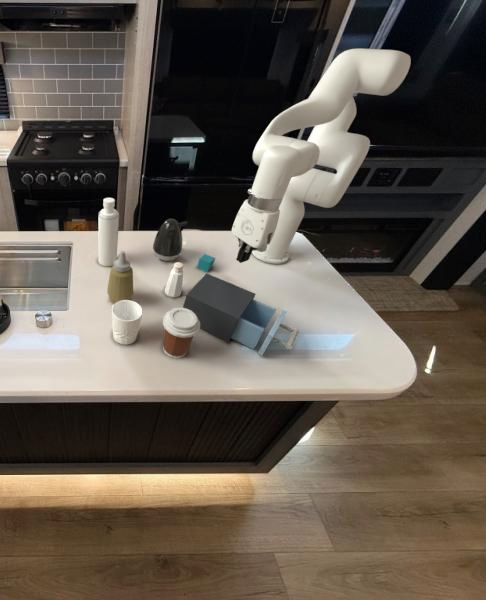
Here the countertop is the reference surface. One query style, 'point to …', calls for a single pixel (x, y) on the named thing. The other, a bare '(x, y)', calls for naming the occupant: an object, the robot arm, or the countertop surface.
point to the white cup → (126, 321)
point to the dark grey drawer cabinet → (217, 305)
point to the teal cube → (205, 262)
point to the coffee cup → (179, 331)
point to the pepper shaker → (175, 281)
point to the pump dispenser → (168, 240)
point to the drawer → (260, 327)
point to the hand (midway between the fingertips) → (242, 260)
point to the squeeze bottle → (120, 280)
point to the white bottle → (108, 233)
